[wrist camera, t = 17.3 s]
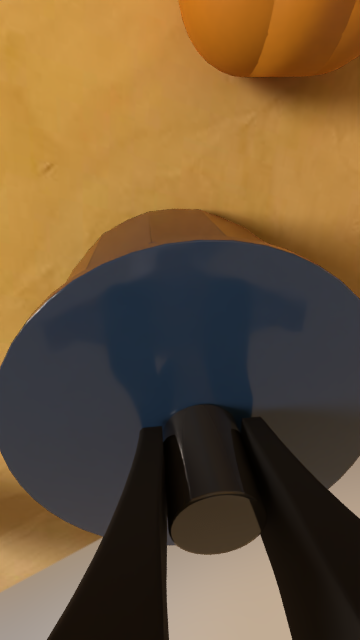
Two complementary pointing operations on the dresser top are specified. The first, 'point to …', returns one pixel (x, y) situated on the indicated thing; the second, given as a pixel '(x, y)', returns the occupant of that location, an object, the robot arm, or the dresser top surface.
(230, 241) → the lid
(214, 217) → the pot
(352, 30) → the orange banded oval part
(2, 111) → the dresser top surface
